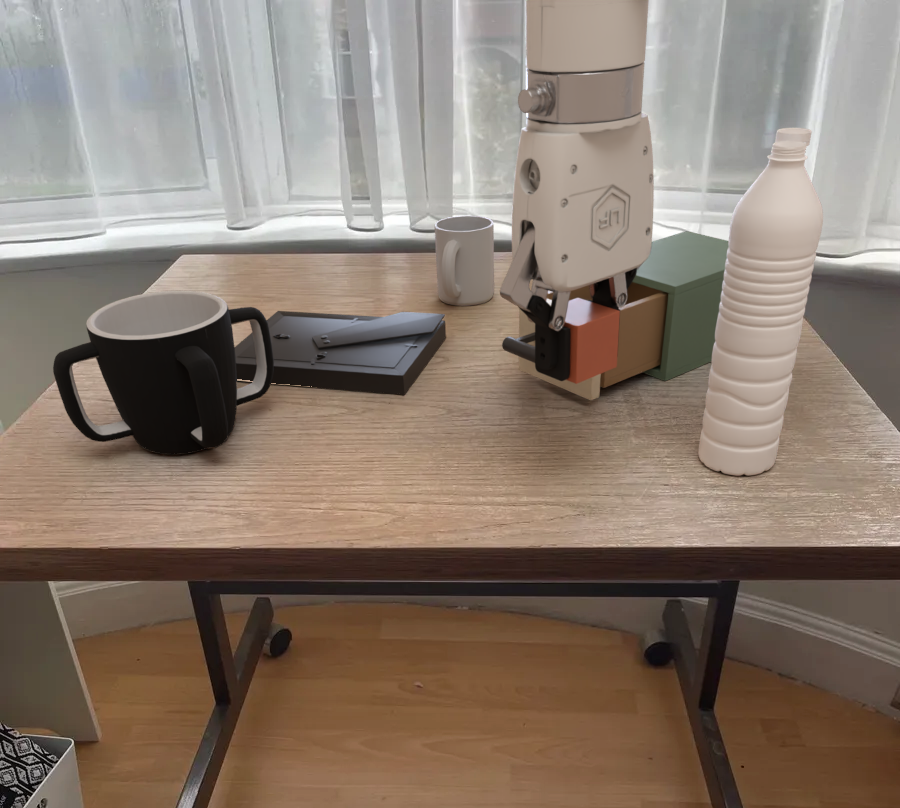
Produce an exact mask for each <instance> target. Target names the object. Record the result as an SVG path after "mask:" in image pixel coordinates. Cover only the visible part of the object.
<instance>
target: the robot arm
mask: <svg viewBox="0 0 900 808" xmlns="http://www.w3.org/2000/svg"><path fill="white" fill-rule="evenodd" d="M649 1H650V0H524V2H525V3H524V4H525V7H524V10H525V16H524V17H525V52H526V53H525V88H523V89H521V90H520V92H519V93H518V97H517V104H518V108H519V110H520V112H522V113H523V114H526V115H525V124H526V126H524V127H521V129H520V135H519V140H518V146H517V154H516V160H515V169H514V179H513V191H512V206H511V207H512V209H511V255H512V261H511V262H510V265H509V268H508V270H507V272H506V275H505V277H504V279H503V281H502V283H501V286H500V289H499V295H500V297H501V298H502V299H504V300H506V301H507V302H509V303H511V304H512V305H514V306H516V307H517V308H518V310H519V309H520V310H522V311H523V312H524V313H525V314H526V315H527V317H528V320H529V321H530V322H532V323H535V368H536V370H537V371H538V372H540V373H542V374H544V375H547V376H549V377H552V378H554V379H557V380H559V381H564V380H566V379H568V378H569V375H570V339H571V332H570V328H568V327H565V326H564V324H565V319H566V314H567V308H568V303H569V297H570V292H571V291H572V290H576V289H579V288H582V287H585V286H588V285H589V289H590V296H591V298H592V299H593V301H592V300H588V301H590V302H593V303H596V304H599V305H602V306H606V307H609V308H612V309H615V310H618V311H620V309H619V308H621V307H623V306H624V305H625V304H626V301H627V290H628V288H629V286H630V285H631V283H632V281H633V279H634V278H635V276H636V273H637V270H638V269H639V268H640V266H641V265H642V264H643V263H644V262H645V261H646V259H647V258H648V257H649V254H650V253H651V249H652V247H651V244H652V242H653V227H654V200H655V199H654V197H655V195H654V194H655V193H654V191H655V190H654V189H655V187H654V180H655V179H654V156H653V155H654V154H653V153H654V152H653V143H652V133H651V126H650V121H649V116H648V114H646V113H644V112H642V107H643V92H644V80H645V79H644V76H645V61H646V47H647V31H648V18H649V16H648V14H649ZM531 281H532V283H531ZM530 285H531V289H530ZM548 291H552V292H553V297H552V303H551V306H550V305H549V304H548V303H547V302H546V300H547V294H548ZM619 325H620V318H619ZM618 342H619V336H618ZM617 357H618V354H617Z"/></svg>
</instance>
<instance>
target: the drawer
mask: <svg viewBox="0 0 900 808" xmlns="http://www.w3.org/2000/svg"><path fill="white" fill-rule="evenodd" d="M668 294H669V293H667V292H664V291H660V290H657V289H654V288H650V287H647V286H644V285H640V284H637V283H634V282H632V283H631V285H630V286H629V288H628V290H627V301H626V304H625V305H624V306H623V307H621V308H619V309H620V325H619V342H618V357H617V367H616V368H613V369H611V370H608V371H606V372H604V373H601V374H599V375H597V376H594V377H592V378H589V379H587V380H585V381H582V382H580V383H578V384H575V383H573V382H570V381H568V380H564V381H559V380H557V379H554V378H552V377H549V376H547V375H544V374H542V373H540V372H538V371H537V370H536V368H535V323H532V322H530V321H529V320H528V317H527V315H526V314H525V313H524V312H523V311H522V310H520V309H519V308H518V337H517V338H515V337H512V336H506V337H505V338H504V339H503V340H502V343H501V349H502V350H503V351H504V352H507V353H510V354H512V355H514V356H517V357H518V370H519V371H521V372H523V373H525V374H528V375H530V376H533V377H535V378H537V379H539V380H543V381H544V382H547V383H549V384H551V385H554V386H556V387H558V388H561V389H563V390H565V391H568V392H570V393H573V394H575V395H577V396H579V397H582V398H584V399H587V400H588V401H594V400H596V399H598V398H599V397H600V391H601V388H603V389H604V388H608V387H610V386H613V385H615V384H617V383H620V382H622V381H624V380H627V379H629V378H631V377H635V376H636V375H637V376H638V375H639V374H642V372H644V371H646V370H649V369H651V368H654V367H656V366H659V365H661V359H662V350H663V341H664V331H665V322H666V313H667V303H668ZM552 297H553V292H552V291H548V294H547V300H546V302H547V303H548V304H549V305H550V306H551V303H552ZM576 298H580V299H583V300H587V301H588V300H592V301H593V299H592V298H591V296H590V289H589V285H588V286H585V287H582V288H579V289H576V290H572V291H571V292H570V297H569V301H570V300H573V299H576Z"/></svg>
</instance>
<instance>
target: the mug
mask: <svg viewBox="0 0 900 808" xmlns="http://www.w3.org/2000/svg"><path fill="white" fill-rule="evenodd" d="M267 320H268V319H267V318H266V316H265V315H264V314H263V313H262V311H261V310H260V309H258V308H256V307H254V306H245V307H238V308H229V305H228V303H227V302H226V301H225V300H224V299H223V298H221V297H220V296H218V295H216V294H213V293H208V292H204V291H196V290H163V291H154V292H147V293H142V294H137V295H136V294H135V295H133V296H129V297H126V298H122V299H119V300H116V301H113V302H110V303H108V304H106V305H104V306H102V307H101V308H99V309H97V310H95V311H94V312H93V313H92V314H91V315H90V316H89V317H88V318H87V320H86V324H85V326H86V330H87V334H88V338H89V342H86V343H81V344H78V345H76V346H73V347H70V348H68V349H65V350H62V351H59V352H58V353H57V354H56V355H55V357H54V360H53V366H52V372H53V376H54V380H55V382H56V383H55V384H56V386H57V389H58V393H59V396H60V398H61V401H62V404H63V407H64V410H65V412H66V415H67V416H68V418H69V420H70V421H71V423H72V424H73V425H74V427H75V428H76V429H77V430H78V431H79V432H80V433H81V435H83V436H84V437H85V438H87V439H89V440H90V441H94V442H101V443H105V442H110V441H111V442H112V441H116V440H120V439H124V438H129V437H133V439H134V440H135V442H136V443H137V444H138V445H139V447H141V448H143V449H144V450H146V451H148V452H151V453H155V454H160V455H185V454H192V453H197V452H200V451H203V450H207V449H213V448H217V447H220V446H222V445H223V444H224V443H225V442H226V441H228V437H229V436H230V435H231V433H232V432H233V430H234V428H235V423H236V419H237V407H238V406H240V405H244V404H247V403H249V402H252V401H255V400H258V399H260V398H261V397H263V396H264V395H266V393H267V392H268V390H269V389H270V387H271V385H272V384H271V381H272V377H273V371H274V359H273V350H272V343H271V337H270V331H269V327H268V322H267ZM246 322H249V325H250V330H251V333H253V338H254V343H255V351H256V360H257V370H256V375H255V378H254V380H253V382H252V383H249V384H247V385H245V386H241V387H238V382H237V379H236V356H235V348H234V347H235V340H234V332H233V331H234V330H233V325H236V324H240V323H246ZM93 359H95V360H96V362H97V365H98V367H99V369H100V372H101V376H102V378H103V381H104V382H105V385H106V388H107V389H108V391H109V393H110V396H111V398H112V401H113V403H114V405H115V408H116V409H117V412H118V413H119V415H120V417H121V419H122V420H120V421H116V422H111V423H108V424H102V425H98V424H96V423H94V422H93V421H92V420H91V419H90V417H89V416H88V414H87V413H86V409H85V408H84V406H83V402H82V400H81V397H80V394H79V391H78V387H77V384H76V381H75V377H74V376H75V375H74V371H73V366H74V364H77V363H80V362H81V363H82V362H85V361H89V360H93Z"/></svg>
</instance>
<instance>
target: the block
mask: <svg viewBox="0 0 900 808" xmlns="http://www.w3.org/2000/svg"><path fill="white" fill-rule="evenodd" d="M619 318H620V311H618V310H615V309H612V308H609V307H606V306H602V305H599V304H596V303H593V302H590V301H587V300H583V299H580V298H576V299H573V300H570V301H569V303H568V308H567V314H566V319H565V324H564V326H565V327H568V328H570V332H571V339H570V375H569V378H568V379H566V380H568V381H570V382H573V383H575V384H578V383H580V382H582V381H585V380H587V379H589V378H592V377H594V376H597V375H599V374H601V373H604V372H606V371H608V370H611V369H613V368H616V367H617V354H618V336H619Z"/></svg>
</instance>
